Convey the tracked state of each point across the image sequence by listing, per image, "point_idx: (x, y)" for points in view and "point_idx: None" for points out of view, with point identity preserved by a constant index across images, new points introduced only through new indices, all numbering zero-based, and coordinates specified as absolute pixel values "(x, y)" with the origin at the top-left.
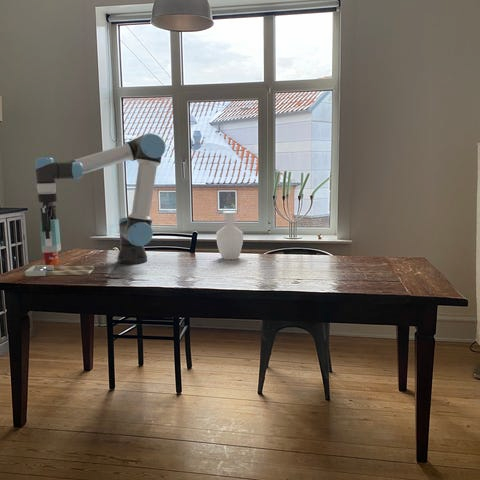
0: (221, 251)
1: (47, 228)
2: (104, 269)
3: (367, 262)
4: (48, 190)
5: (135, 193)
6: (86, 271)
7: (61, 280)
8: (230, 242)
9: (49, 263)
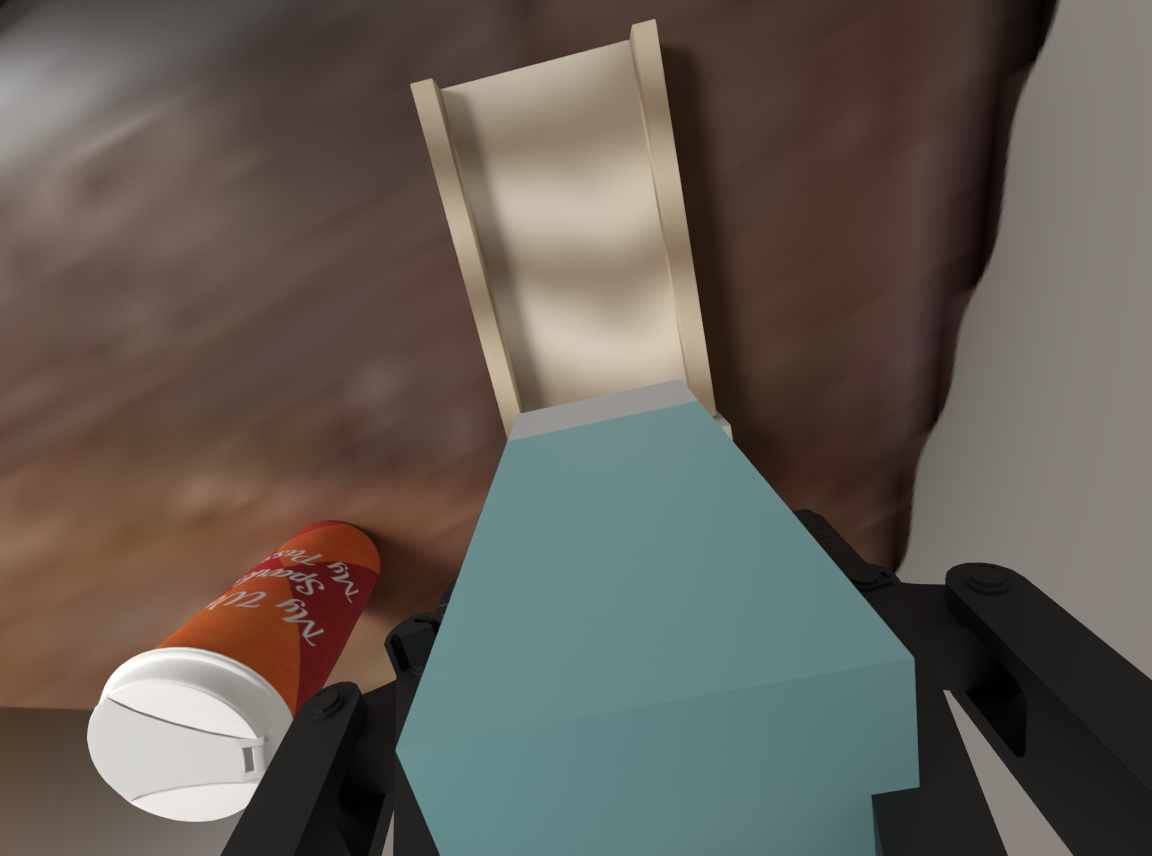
0: None
1: (1038, 600)
2: (344, 12)
3: None
4: None
5: None
6: (658, 44)
7: (817, 223)
8: None
9: (370, 570)
